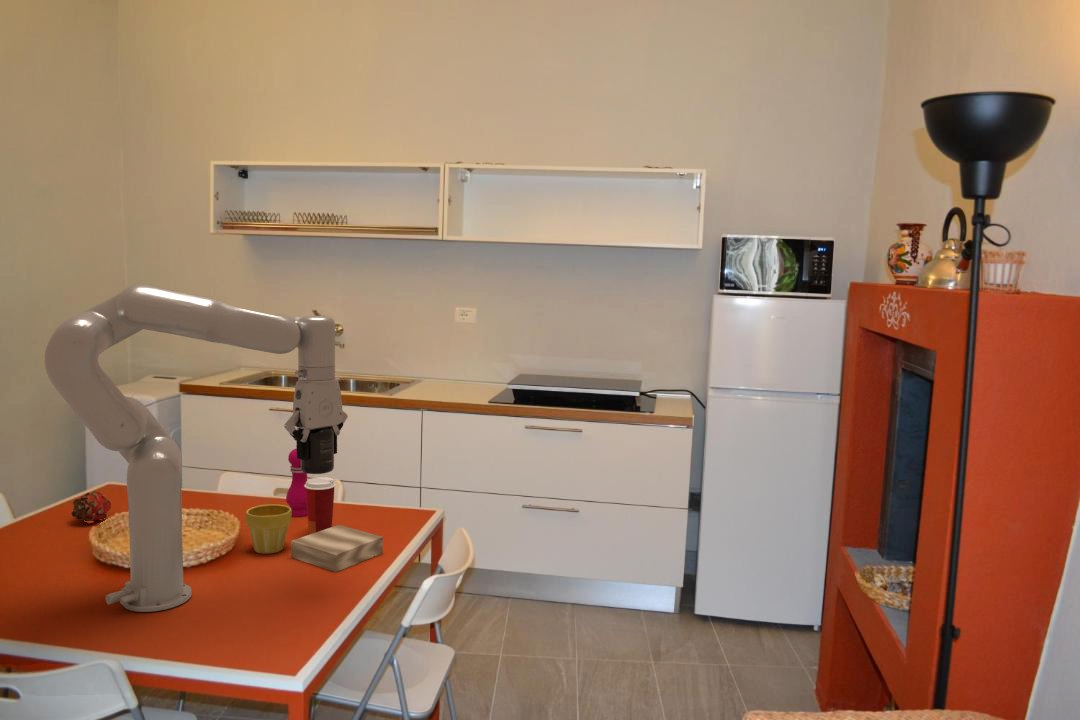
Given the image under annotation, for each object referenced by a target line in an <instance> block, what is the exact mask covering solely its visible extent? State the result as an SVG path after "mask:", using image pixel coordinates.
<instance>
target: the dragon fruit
mask: <svg viewBox="0 0 1080 720" xmlns="http://www.w3.org/2000/svg"><path fill="white" fill-rule="evenodd" d="M72 503H73V504H72V505H73V508H72V509H73V511H72V512H71V516H72V517H73V518H75V519H77V520H80V521H82V520H85V521H95V522H96V521H100V520H99V519H103V520H104V518H106V519H107V514H108V511H110V510H111V508H112V503H111V500H109V499H108V497H107V496H106V495H105V494H103V493H101V492H100V491H96V490H93V491H92V492H87V493H85V494H82V495H81V496H80V498H76V499H74V500H73V501H72Z"/></svg>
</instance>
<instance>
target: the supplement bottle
mask: <svg viewBox="0 0 1080 720" xmlns="http://www.w3.org/2000/svg"><path fill="white" fill-rule="evenodd" d="M303 431H304V430H303ZM303 431H302V433H303ZM306 441H308V442H309V460H306V461H305V460H301V470H302V471H303V472H304V473H307V475H321V474H328V473H330V472H332V471H333V470H334V468H335V454H334V431H333V429H332V428H330V427H325V428H319V429H313V430H310V432H309V435H308V437H307V440H306Z"/></svg>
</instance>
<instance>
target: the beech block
mask: <svg viewBox="0 0 1080 720" xmlns="http://www.w3.org/2000/svg"><path fill="white" fill-rule="evenodd" d="M383 553H384V537H383V536H381V535H379V534H378V535H377V534H373V533H369V532H366V531H363V530H360V529H356V528H352V527H349V526H345V525H342V524H337V525H334V526H332V527H331V528H328V529H325V530H322V531H319V532H316V533H313V534H310V535H309V534H307V535H305V536H301V537H299V538H295V539H293V540H290V558H291V559H295V560H298V561H301V562H304V563H308V564H310V565H313V566H316V567H318V568H322V569H325V570H328V571H332V572H335V573H337V572H339V571H342V570H344V569H347V568H350V567H353V566H355V565H356V564H359V563H361V562H364V561H367V560H369V559H372V558H375V557H376V556H380V555H382V554H383ZM374 556H375V557H374Z"/></svg>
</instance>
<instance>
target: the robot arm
mask: <svg viewBox="0 0 1080 720" xmlns="http://www.w3.org/2000/svg"><path fill="white" fill-rule="evenodd" d="M143 330H145V331H152V332H157V333H164V334H170V335H176V336H181V337H185V338H190V339H191V338H192V339H195V340H201V341H205V342H209V343H214V344H215V343H216V344H223V345H229V346H232V347H233V346H234V347H238V348H243V349H247V350H253V351H259V352H264V353H268V354H269V353H270V354H276V355H284V354H288V353H291V352H293V351H294V350H295V349H296V348H297V350H298V351H297V352H298V354H297V355H298V356H297V357H298V363H297V365H298V367H297V368H298V370H295V371H294V376H295V377H296V378H298V379H297V381H296V383H295V388H294V392H293V402H292V403H293V404H292V415H291V416H290V417H289V418H288V419H287V420H286V422H285V424H284V425H283V427H284V429H286V431H287V432H288V433H289V435H290V437H292V438H293V440H294V441H296V445H297V447H296V448H297V458H298V459H301V460H305V461H306V460H309V442H308V441H306V440H307V437H308V435H309V432H310V430H313V429H319V428H325V427H330V428H332V429H333V431H334V455H336V454H337V453H338V436H339V435H340V432H341V431H342V429H343V426H344V424H345V422H346V420H347V419H348V415H349V414H347V413H346V412H345V411H344V410H343V400H342V392H341V391H342V390H341V385H340V382H339V379H337V378H336V323H335V320H334V318H333V317H330V316H327V315H326V316H325V315H306V316H295V315H288V314H287V315H285V314H269V313H263V312H258V311H254V310H250V309H249V310H248V309H244V308H240V307H238V306H237V307H236V306H233V305H230V304H227V303H225V302H223V301H220V300H218V299H214V298H210V297H206V296H201V295H196V294H191V293H184V292H182V291H175V290H170V289H165V288H161V287H158V286H157V287H156V286H153V285H151V284H147V283H135V284H132V285H129V286H127V287H126V288H124V289H123V290H122V291H121V292H119V293H117V294H115V295H114V296H112V297H110V298H108V299H106V300H105V301H102V302H100V303H98V304H96V305H95V306H92V307H90V308H87V310H84V311H83V312H80V313H78V314H76V315H72V316H70V317H68V318H67V319H65V320H63V321H62V322H61V323H60V324H59V325H58V326H57V328H56V329H55V330H54V331H53V333H52V334H51V335H50V338H49V340H48V342H47V343H46V344H47V345H46V346H45V347H46V348H45V351H44V367H45V370H46V374H47V376H48V379H49V380H50V382H51V385H53V387H54V389H56V392H57V393H58V394H59V395H60V396H61V397H62V399H63V400H64V401H65V402H66V403H67V405H68V406H69V407H70V408H71V410H72V411H73V412H74V414H75V415H76V416H77V417H78V418H79V420H80V421H81V422H82V423H83V425H84V426H85V427H86V428H87V429H88V431H89V432H90V433H91V434H92V436H93V437H94V439H95V440H96V441H97V442H98V443H99V444H100V445H101V446H102V447H103V448H106V449H107V450H110V451H113V452H118V453H119V454H120V455H121V456H122V457H123V458H124V459H125V461H126V462H127V464H128V467H127V470H126V492H127V501H128V503H127V504H128V506H127V507H128V528H129V529H128V531H129V532H128V533H129V563H130V565H129V566H130V580H128V581H126V582H124V587H122V588H121V590H119V591H115V592H112V593H108V594H106V595H105V601H106V604H107V605H111V604H115V603H117V602H119V603H120V604H121V605H122V606H123V607H124V608H125V609H126V610H129V611H132V612H137V613H138V612H139V613H149V612H151V613H152V612H159V611H160V612H161V611H166V610H169V609H172V608H176V607H178V606H180V605H182V604H185V602H187V601H188V600H190V599H191V597H192V593H193V592H192V587H191V586H190V585H188V584H186V583H184V560H183V559H184V558H183V553H184V552H183V547H184V546H183V512H182V511H183V508H182V507H183V506H182V505H183V503H182V481H183V480H182V474H183V473H182V472H183V470H182V469H183V456H182V452H181V449H180V448H179V446H178V444H177V443H176V442H175V440H174V439H173V438H172V437H171V435H170V434H169V433H168V431H167V430H166V429H165V428H164V427H163V425H162V423H160V422H159V421H158V419H157V418H156V417H155V415H153V413H152V412H151V411H150V410H149V408H148V407H147V406H145V404H144V403H143V402H141V401H140V400H138V399H136V398H134V397H131V396H126V395H124V394H123V392H122V391H121V390H120V389H119V388H118V387H117V386H116V385H117V384H116V383H114V381H113V380H112V378H110V376H109V375H108V374H107V373H106V372H105V371H104V370H103V369H102V367H101V365H100V363H99V356H100V355H101V354H103V353H104V352H105V351H106V350H108V349H110V348H111V347H113V346H115V345H117V344H119V343H121V342H122V341H124V340H126V339H129V338H130V337H132V336H134V335H135V334H137V333H139V332H141V331H143ZM303 430H304V431H303ZM302 431H303V433H302Z"/></svg>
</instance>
